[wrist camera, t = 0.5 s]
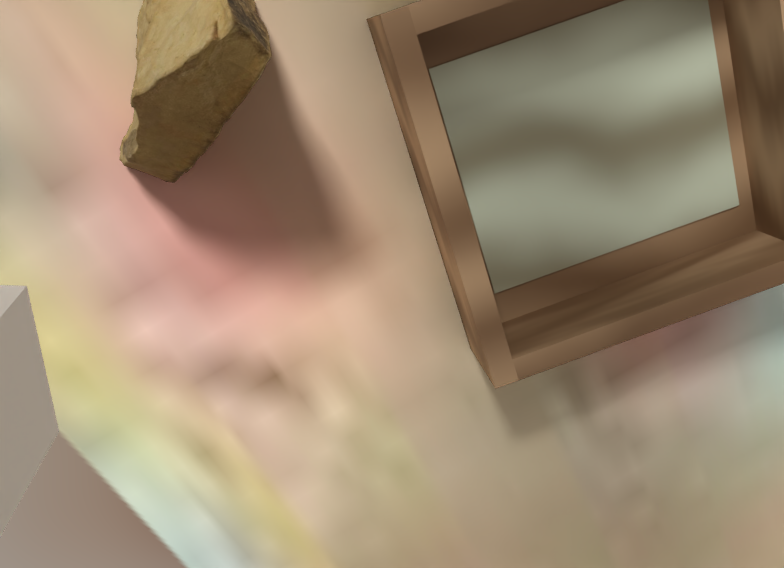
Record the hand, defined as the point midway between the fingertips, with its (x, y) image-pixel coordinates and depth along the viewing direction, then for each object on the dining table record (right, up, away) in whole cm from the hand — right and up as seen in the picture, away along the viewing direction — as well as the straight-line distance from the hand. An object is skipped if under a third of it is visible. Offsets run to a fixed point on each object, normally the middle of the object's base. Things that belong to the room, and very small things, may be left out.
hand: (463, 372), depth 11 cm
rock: (-11, +12, +22) cm, 27 cm away
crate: (+9, +9, +25) cm, 28 cm away
